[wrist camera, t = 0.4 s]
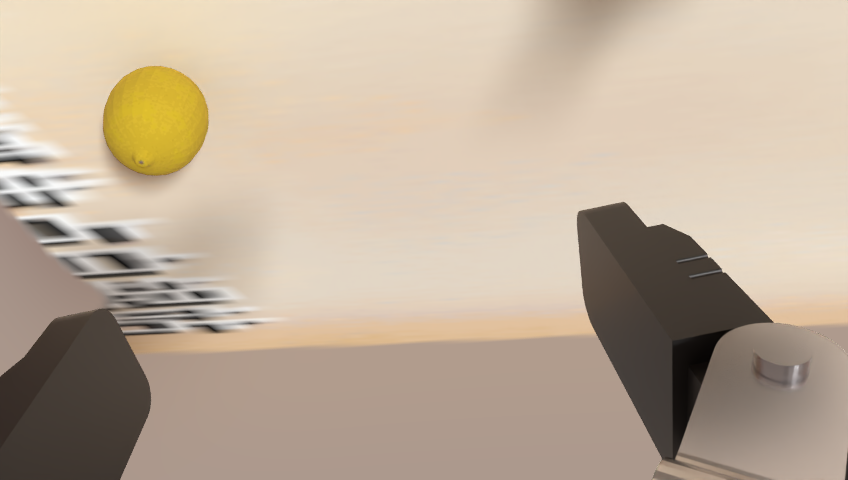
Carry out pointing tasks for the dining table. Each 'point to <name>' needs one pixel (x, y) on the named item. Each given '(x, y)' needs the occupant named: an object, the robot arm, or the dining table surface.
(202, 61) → the dining table surface
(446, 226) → the dining table surface
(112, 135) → the lemon
